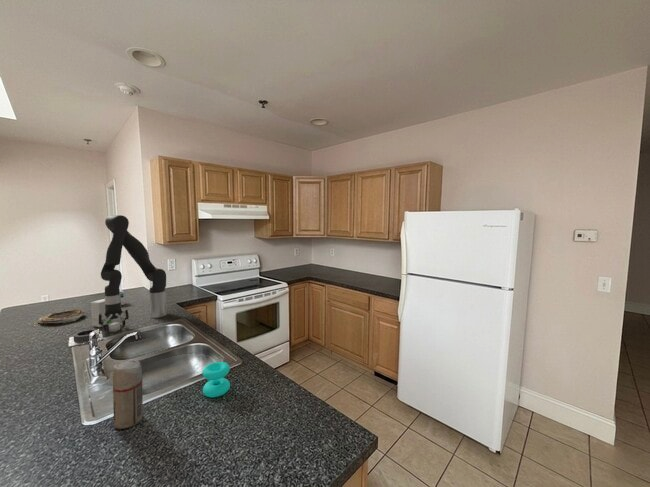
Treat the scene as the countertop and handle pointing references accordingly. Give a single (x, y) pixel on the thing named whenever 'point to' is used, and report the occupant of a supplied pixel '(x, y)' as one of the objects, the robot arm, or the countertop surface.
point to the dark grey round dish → (82, 337)
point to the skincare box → (98, 312)
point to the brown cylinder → (127, 394)
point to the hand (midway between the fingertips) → (114, 328)
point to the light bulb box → (122, 297)
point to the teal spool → (216, 379)
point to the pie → (61, 317)
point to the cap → (114, 327)
